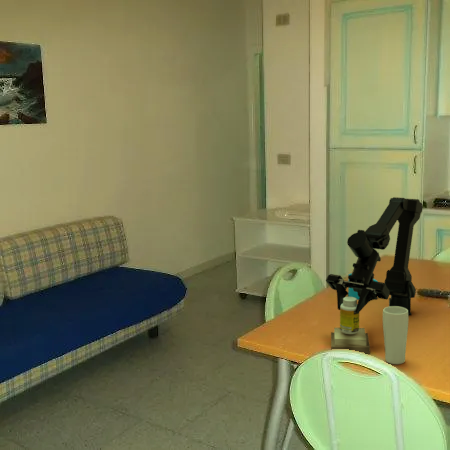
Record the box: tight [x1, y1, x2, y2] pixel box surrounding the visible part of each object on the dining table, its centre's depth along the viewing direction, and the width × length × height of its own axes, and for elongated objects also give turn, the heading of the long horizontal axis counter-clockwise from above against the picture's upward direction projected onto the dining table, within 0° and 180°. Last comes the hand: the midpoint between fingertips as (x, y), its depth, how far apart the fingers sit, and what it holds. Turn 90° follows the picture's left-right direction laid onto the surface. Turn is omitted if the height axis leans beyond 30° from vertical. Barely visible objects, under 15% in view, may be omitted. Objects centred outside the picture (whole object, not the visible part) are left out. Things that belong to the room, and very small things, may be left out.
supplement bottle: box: [339, 296, 360, 334], centre depth 173 cm, size 6×6×10 cm
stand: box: [330, 327, 371, 355], centre depth 175 cm, size 11×11×4 cm
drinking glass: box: [382, 305, 409, 365], centre depth 162 cm, size 7×7×15 cm
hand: (347, 311), depth 172 cm, fingers closed on supplement bottle, 5 cm apart
